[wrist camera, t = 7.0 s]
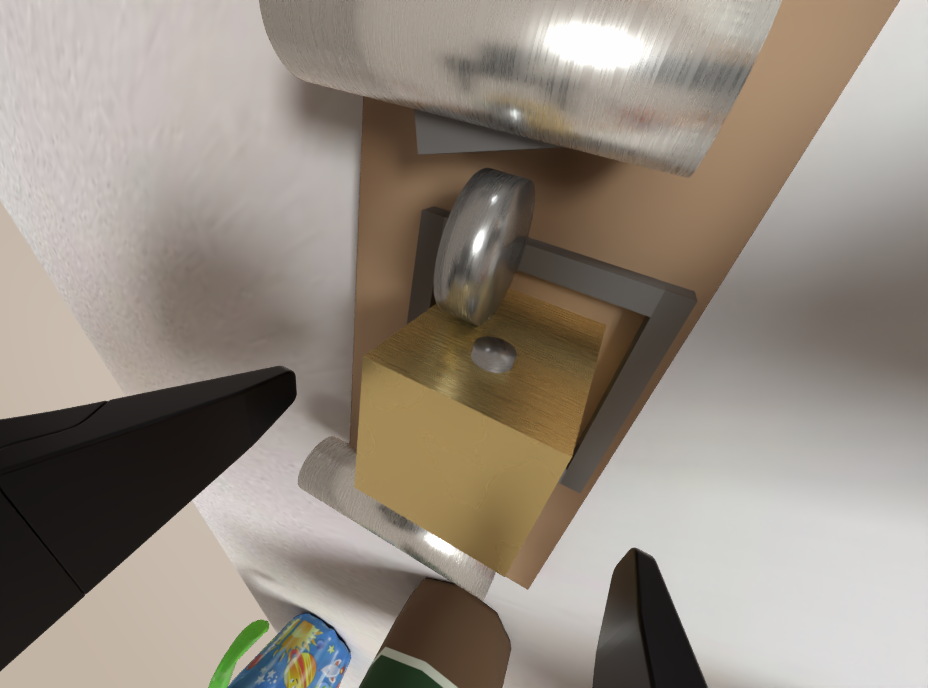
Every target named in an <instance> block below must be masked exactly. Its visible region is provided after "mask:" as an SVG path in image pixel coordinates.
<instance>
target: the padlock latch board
mask: <svg viewBox="0 0 928 688" xmlns="http://www.w3.org/2000/svg"><path fill="white" fill-rule="evenodd" d="M899 1H900V0H782V2H781V5H780V7H779V10H778V12H777V15H776V17H775V20H774V22H773V24H772V27H771V29H770V31H769V33H768V36H767V38H766V40H765V42H764V44H763V46H762V49H761V51H760V53H759V55H758V57H757V59H756V61H755V63H754V65H753V67H752V69H751V71H750V73H749V75H748V77H747V79H746V82H745V84H744V85H743V87H742V89H741V91H740V93H739V95H738V97H737V99H736V101H735V103H734V105H733V107H732V109H731V111H730V112H729V114H728V116H727V118H726V120H725V122H724V124H723V125H722V127H721V129H720V131H719V133H718V134H717V136H716V138H715V140H714V141H713V143H712V145H711V147H710V148H709V150H708V152H707V153H706V155H705V157H704V158H703V160H702V161H701V163H700V164H699V166H698V167H697V169H696V170H695V172H694V173H693V174H692V175H691V177H689V178H685V177H681V176H677V175H673V174H669V173H665V172H662V171H658V170H654V169H650V168H646V167H642V166H638V165H634V164H630V163H626V162H622V161H618V160H614V159H610V158H606V157H602V156H598V155H594V154H590V153H586V152H582V151H578V150H574V149H570V148H567V147H563V146H559V145H555V144H551V143H547V142H543V141H539V140H535V139H531V138H527V137H523V136H519V135H515V134H511V133H507V132H503V131H499V130H495V129H491V128H487V127H483V126H479V125H475V124H472V123H468V122H464V121H460V120H456V119H452V118H448V117H444V116H440V115H436V114H432V113H428V112H424V111H420V110H416V109H412V108H408V107H404V106H400V105H396V104H392V103H388V102H384V101H380V100H376V99H373V98H369V97H365V96H364V98H363V123H362V148H361V173H360V199H359V224H358V249H357V274H356V300H355V325H354V350H353V375H352V401H351V426H350V445H351V446H353V447H355V448H357V440H358V425H359V411H360V396H361V381H362V366H363V356H364V355H366V354H367V353H369V352H370V351H371V350H373V349H374V348H375V347H377V346H378V345H380V344H381V343H382V342H384V341H385V340H387V339H388V338H389V337H391V336H392V335H394V334H395V333H396V332H398V331H399V330H400V329H402V328H403V327H405V326H406V325H407V324H409V323H410V322H412V321H413V320H414V319H416V318H417V317H418V316H420V315H421V314H423V313H424V312H425V311H427V310H428V309H430V308H431V307H432V306H434V305H435V304H436V301H435V297H434V271H435V263H436V258H437V253H438V248H439V244H440V241H441V237H442V234H443V231H444V228H445V225H446V222H447V220H448V217H449V215H450V212H451V210H452V208H453V206H454V204H455V202H456V200H457V198H458V196H459V194H460V192H461V191H462V189H463V188H464V186H465V185H466V183H467V182H468V181H469V179H470V178H471V177H472V176H473V175H474V174H475V173H476V172H477V171H479V170H481V169H483V168H492V169H495V170H499V171H502V172H506V173H509V174H513V175H517V176H520V177H524V178H527V179H530V180H532V181H533V183H534V186H535V205H534V213H533V218H532V223H531V227H530V231H529V235H528V239H527V242H526V245H525V249H524V252H523V255H522V258H521V260H520V263H519V266H518V268H517V271H516V274H515V276H514V278H513V281H512V283H511V285H510V287H509V288H510V289H513V290H515V291H518V292H521V293H523V294H526V295H529V296H531V297H534V298H536V299H539V300H542V301H544V302H547V303H550V304H552V305H555V306H558V307H560V308H563V309H565V310H568V311H571V312H573V313H576V314H579V315H581V316H584V317H586V318H589V319H592V320H594V321H597V322H600V323H602V324H605V325H606V328H605V332H604V336H603V340H602V344H601V347H600V351H599V355H598V359H597V363H596V367H595V370H594V374H593V378H592V382H591V386H590V390H589V393H588V397H587V401H586V405H585V409H584V413H583V416H582V420H581V424H580V428H579V432H578V436H577V439H576V443H575V447H574V451H573V455H572V458H571V460H570V461H569V463H568V465H567V467H566V468H565V470H564V472H563V474H562V476H561V477H560V479H559V481H558V483H557V485H556V486H555V488H554V490H553V492H552V494H551V495H550V497H549V499H548V501H547V502H546V504H545V506H544V508H543V510H542V511H541V513H540V515H539V517H538V519H537V520H536V522H535V524H534V526H533V527H532V529H531V531H530V533H529V535H528V536H527V538H526V540H525V542H524V544H523V545H522V547H521V549H520V551H519V553H518V554H517V556H516V558H515V560H514V561H513V563H512V565H511V567H510V569H509V570H508V572H507V574H506V577H507V578H509V579H511V580H512V581H514V582H516V583H517V584H519V585H521V586H523V587H524V588H526V589H529V587H530V586H531V584H532V582H533V581H534V579H535V578H536V576H537V574H538V573H539V571H540V570H541V568H542V567H543V565H544V563H545V562H546V560H547V559H548V557H549V555H550V554H551V552H552V551H553V549H554V548H555V546H556V544H557V543H558V541H559V540H560V538H561V536H562V535H563V533H564V532H565V530H566V529H567V527H568V525H569V524H570V522H571V521H572V519H573V517H574V516H575V514H576V513H577V511H578V510H579V508H580V506H581V505H582V503H583V502H584V500H585V498H586V497H587V495H588V494H589V492H590V491H591V489H592V487H593V486H594V484H595V483H596V481H597V479H598V478H599V476H600V475H601V473H602V471H603V470H604V468H605V467H606V465H607V464H608V462H609V460H610V459H611V457H612V456H613V454H614V452H615V451H616V449H617V448H618V446H619V445H620V443H621V441H622V440H623V438H624V437H625V435H626V433H627V432H628V430H629V429H630V427H631V426H632V424H633V422H634V421H635V419H636V418H637V416H638V414H639V413H640V411H641V410H642V408H643V407H644V405H645V403H646V402H647V400H648V399H649V397H650V395H651V394H652V392H653V391H654V389H655V388H656V386H657V384H658V383H659V381H660V380H661V378H662V376H663V375H664V373H665V372H666V370H667V369H668V367H669V365H670V364H671V362H672V361H673V359H674V357H675V356H676V354H677V353H678V351H679V350H680V348H681V346H682V345H683V343H684V342H685V340H686V338H687V337H688V335H689V334H690V332H691V331H692V329H693V327H694V326H695V324H696V323H697V321H698V319H699V318H700V316H701V315H702V313H703V312H704V310H705V308H706V307H707V305H708V304H709V302H710V300H711V299H712V297H713V296H714V294H715V293H716V291H717V289H718V288H719V286H720V285H721V283H722V281H723V280H724V278H725V277H726V275H727V274H728V272H729V270H730V269H731V267H732V266H733V264H734V262H735V261H736V259H737V258H738V256H739V255H740V253H741V251H742V250H743V248H744V247H745V245H746V243H747V242H748V240H749V239H750V237H751V236H752V234H753V232H754V231H755V229H756V228H757V226H758V224H759V223H760V221H761V220H762V218H763V216H764V215H765V213H766V212H767V210H768V209H769V207H770V205H771V204H772V202H773V201H774V199H775V197H776V196H777V194H778V193H779V191H780V190H781V188H782V186H783V185H784V183H785V182H786V180H787V178H788V177H789V175H790V174H791V172H792V171H793V169H794V167H795V166H796V164H797V163H798V161H799V159H800V158H801V156H802V155H803V153H804V152H805V150H806V148H807V147H808V145H809V144H810V142H811V140H812V139H813V137H814V136H815V134H816V133H817V131H818V129H819V128H820V126H821V125H822V123H823V121H824V120H825V118H826V117H827V115H828V114H829V112H830V110H831V109H832V107H833V106H834V104H835V102H836V101H837V99H838V98H839V96H840V95H841V93H842V91H843V90H844V88H845V87H846V85H847V83H848V82H849V80H850V79H851V77H852V76H853V74H854V72H855V71H856V69H857V68H858V66H859V64H860V63H861V61H862V60H863V58H864V57H865V55H866V53H867V52H868V50H869V49H870V47H871V45H872V44H873V42H874V41H875V39H876V38H877V36H878V34H879V33H880V31H881V30H882V28H883V26H884V25H885V23H886V22H887V20H888V19H889V17H890V15H891V14H892V12H893V11H894V9H895V7H896V6H897V4H898V3H899Z"/></svg>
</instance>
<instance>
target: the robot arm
mask: <svg viewBox="0 0 928 688" xmlns="http://www.w3.org/2000/svg"><path fill="white" fill-rule="evenodd" d="M296 395H297V390H296V376H295V373H294V372H293V371H292V370H290V369H288V368H286V367H284V366H275V367H270V368H265V369H260V370H255V371H250V372H246V373H241V374H236V375H231V376H226V377H221V378H216V379H211V380H206V381H201V382H196V383H191V384H186V385H181V386H176V387H171V388H167V389H162V390H157V391H152V392H147V393H142V394H137V395H132V396H127V397H122V398H117V399H112V400H110V401H102V402H98V403H92V404H88V405H82V406H77V407H72V408H66V409H61V410H56V411H51V412H45V413H38V414H32V415H26V416H20V417H13V418H7V419H0V671H1V670H2V669H3V668H5V667H6V666H7V665H8V664H9V663H10V662H11V661H12V660H14V659H15V658H16V657H17V656H18V655H19V654H20V653H21V652H22V651H24V650H25V649H26V648H27V647H28V646H29V645H30V644H31V643H33V642H34V641H35V640H36V639H37V638H38V637H39V636H40V635H42V634H43V633H44V632H45V631H46V630H47V629H48V628H49V627H51V626H52V625H53V624H54V623H55V622H56V621H57V620H58V619H59V618H61V617H62V616H63V615H64V614H65V613H66V612H67V611H68V610H70V609H71V608H72V607H73V606H74V605H75V604H76V603H77V602H79V601H80V600H81V599H82V598H83V597H84V596H85V594H87V593H88V592H89V591H91V590H92V589H93V588H94V587H95V586H96V585H97V584H98V583H100V582H101V581H102V580H103V579H104V578H105V577H106V576H107V575H108V574H110V573H111V572H112V571H113V570H114V569H115V568H116V567H117V566H119V565H120V564H121V563H122V562H123V561H124V560H125V559H126V558H128V557H129V556H130V555H131V554H132V553H133V552H134V551H135V550H136V549H138V548H139V547H140V546H141V545H142V544H143V543H144V542H145V541H147V540H148V539H149V538H150V537H151V536H152V535H153V534H154V533H156V532H157V531H158V530H159V529H160V528H161V527H162V526H163V525H165V524H166V523H167V522H168V521H169V520H170V519H171V518H172V517H173V516H175V515H176V514H177V513H178V512H179V511H180V510H181V509H182V508H184V507H185V506H186V505H187V504H188V503H189V502H190V501H191V500H193V499H194V498H195V497H196V496H197V495H198V494H199V493H200V492H201V491H203V490H204V489H205V488H206V487H207V486H208V485H209V484H210V483H212V482H213V481H214V480H215V479H216V478H217V477H218V476H219V475H221V474H222V473H223V472H224V471H225V470H226V469H227V468H228V467H229V466H231V465H232V464H233V463H234V462H235V461H236V460H237V459H238V458H240V457H241V456H242V455H243V454H244V453H245V452H246V451H247V450H248V449H249V448H251V447H252V446H253V445H254V444H255V443H256V442H257V441H258V440H259V439H260V438H261V436H262V435H263V434H264V433H265V432H266V431H267V430H268V429H269V428H270V427H271V426H272V425H273V424H274V423H275V421H276V420H277V419H278V418H279V417H280V416H281V415H282V414H283V413H284V412H285V411H286V410H287V409H288V407H289V406H290V405H291V404H292V403H293V402H294V400H295V398H296ZM592 688H708V686H707V684H706V681H705V679H704V676H703V674H702V672H701V669H700V667H699V664H698V662H697V659H696V657H695V655H694V652H693V650H692V647H691V645H690V643H689V640H688V638H687V635H686V633H685V630H684V628H683V626H682V623H681V621H680V618H679V616H678V613H677V611H676V609H675V606H674V604H673V601H672V599H671V596H670V594H669V592H668V589H667V587H666V584H665V582H664V579H663V577H662V575H661V572H660V570H659V567H658V565H657V563H656V561H655V559H654V558H653V557H652V556H651V555H649V554H647V553H645V552H643V551H641V550H639V549H638V548H631V549H630V550H629V551H628V552H627V554H626V555H625V556H624V557H623V558H622V559H621V561H620V562H619V563H618V564H617V566H616V567H615V569H614V572H613V575H612V579H611V584H610V588H609V593H608V598H607V603H606V607H605V612H604V617H603V621H602V626H601V631H600V636H599V641H598V646H597V651H596V659H595V667H594V677H593V687H592Z"/></svg>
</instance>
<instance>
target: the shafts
mask: <svg viewBox="0 0 928 688" xmlns="http://www.w3.org/2000/svg"><path fill="white" fill-rule="evenodd" d="M259 2H260V9H261V14H262V19H263V22H264V26H265V29H266V32H267V35H268V37H269V40H270V42H271V44H272V46H273V48H274V50H275V52H276V54H277V56H278V57H279V59H280V60H281V61H282V63H283V64H284V65H285V66H286V68H287V69H288V70H289V71H290V72H291V73H292V74H293V75H295V76H296V77H298V78H299V79H301V80H303V81H306V82H309V83H313V84H317V85H321V86H325V87H329V88H333V89H337V90H341V91H345V92H349V93H353V94H357V95H361V96H365V97H369V98H373V99H376V100H380V101H384V102H388V103H392V104H396V105H400V106H404V107H408V108H412V109H416V110H420V111H424V112H428V113H432V114H436V115H440V116H444V117H448V118H452V119H456V120H460V121H464V122H468V123H472V124H475V125H479V126H483V127H487V128H491V129H495V130H499V131H503V132H507V133H511V134H515V135H519V136H523V137H527V138H531V139H535V140H539V141H543V142H547V143H551V144H555V145H559V146H563V147H567V148H570V149H574V150H578V151H582V152H586V153H590V154H594V155H598V156H602V157H606V158H610V159H614V160H618V161H622V162H626V163H630V164H634V165H638V166H642V167H646V168H650V169H654V170H658V171H662V172H665V173H669V174H673V175H677V176H681V177H685V178H689V177H691V175H692V174H693V173H694V172H695V170H696V169H697V167H698V166H699V164H700V163H701V161H702V160H703V158H704V157H705V155H706V153H707V152H708V150H709V148H710V147H711V145H712V143H713V141H714V140H715V138H716V136H717V134H718V133H719V131H720V129H721V127H722V125H723V124H724V122H725V120H726V118H727V116H728V114H729V112H730V111H731V109H732V107H733V105H734V103H735V101H736V99H737V97H738V95H739V93H740V91H741V89H742V87H743V85H744V84H745V82H746V79H747V77H748V75H749V73H750V71H751V69H752V67H753V65H754V63H755V61H756V59H757V57H758V55H759V53H760V51H761V49H762V46H763V44H764V42H765V40H766V38H767V36H768V33H769V31H770V29H771V27H772V24H773V22H774V20H775V17H776V15H777V12H778V10H779V7H780V5H781V2H782V0H259ZM534 205H535V186H534V183H533V181H532V180H530V179H527V178H524V177H520V176H517V175H513V174H509V173H506V172H502V171H499V170H495V169H492V168H483V169H481V170H479V171H477V172H476V173H475V174H474V175H473V176H472V177H471V178H470V179H469V181H468V182H467V183H466V185H465V186H464V188H463V189H462V191H461V192H460V194H459V196H458V198H457V200H456V202H455V204H454V206H453V208H452V210H451V212H450V215H449V217H448V220H447V222H446V225H445V228H444V231H443V234H442V237H441V241H440V244H439V248H438V253H437V258H436V263H435V271H434V297H435V301H436V304H437V306H438V308H439V309H440V310H441V311H443V312H446V313H448V314H450V315H453V316H455V317H458V318H460V319H463V320H465V321H468V322H470V323H472V324H475V325H477V326H482V325H484V324H486V323H487V322H488V321H489V320H490V319H491V318H492V316H493V315H494V314H495V312H496V311H497V309H498V308H499V306H500V304H501V303H502V301H503V299H504V297H505V295H506V293H507V291H508V289H509V287H510V285H511V283H512V281H513V278H514V276H515V274H516V271H517V268H518V266H519V263H520V260H521V258H522V255H523V252H524V249H525V245H526V242H527V239H528V235H529V231H530V227H531V223H532V218H533V213H534ZM356 455H357V448H355V447H353V446H351V445H350V444H348V443H346V442H344V441H342V440H341V439H339V438H337V437H335V436H331V437H328V438H326V439H324V440H323V441H322V442H320V443H319V444H318V445H317V446H316V447H315V448H314V449H313V451H312V452H311V453H310V454H309V456H308V457H307V459H306V460H305V462H304V464H303V466H302V468H301V470H300V473H299V477H298V485H299V487H300V488H301V489H303V490H304V491H306V492H307V493H309V494H311V495H312V496H314V497H315V498H317V499H319V500H320V501H322V502H324V503H325V504H327V505H328V506H330V507H332V508H333V509H335V510H337V511H338V512H340V513H341V514H343V515H345V516H346V517H348V518H349V519H351V520H353V521H354V522H356V523H358V524H359V525H361V526H362V527H364V528H366V529H367V530H369V531H370V532H372V533H374V534H375V535H377V536H379V537H380V538H382V539H383V540H385V541H387V542H388V543H390V544H392V545H393V546H395V547H396V548H398V549H400V550H401V551H403V552H404V553H406V554H408V555H409V556H411V557H413V558H414V559H416V560H417V561H419V562H421V563H422V564H424V565H426V566H427V567H429V568H430V569H432V570H434V571H435V572H437V573H438V574H440V575H442V576H443V577H445V578H447V579H448V580H450V581H451V582H453V583H455V584H456V585H458V586H459V587H461V588H463V589H464V590H466V591H468V592H469V593H471V594H472V595H474V596H476V597H477V598H479V599H481V600H482V601H483V600H484V598H485V596H486V594H487V592H488V589H489V587H490V585H491V583H492V580H493V578H494V575H495V573H496V572H495V571H494V570H492V569H490V568H489V567H487V566H485V565H484V564H482V563H480V562H479V561H477V560H475V559H474V558H472V557H470V556H469V555H467V554H465V553H463V552H462V551H460V550H458V549H457V548H455V547H453V546H452V545H450V544H448V543H447V542H445V541H443V540H442V539H440V538H438V537H437V536H435V535H433V534H432V533H430V532H428V531H427V530H425V529H423V528H422V527H420V526H418V525H417V524H415V523H413V522H411V521H410V520H408V519H406V518H405V517H403V516H401V515H400V514H398V513H396V512H395V511H393V510H391V509H390V508H388V507H386V506H385V505H383V504H381V503H380V502H378V501H376V500H375V499H373V498H371V497H370V496H368V495H366V494H365V493H363V492H361V491H359V490H358V489H356V488H354V484H355V470H356Z"/></svg>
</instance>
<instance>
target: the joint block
mask: <svg viewBox="0 0 928 688" xmlns="http://www.w3.org/2000/svg"><path fill="white" fill-rule="evenodd" d="M605 328H606V325H605V324H602V323H600V322H597V321H594V320H592V319H589V318H586V317H584V316H581V315H579V314H576V313H573V312H571V311H568V310H565V309H563V308H560V307H558V306H555V305H552V304H550V303H547V302H544V301H542V300H539V299H536V298H534V297H531V296H529V295H526V294H523V293H521V292H518V291H515V290H513V289H510V288H509V289H508V291H507V293H506V295H505V297H504V299H503V301H502V303H501V304H500V306H499V308H498V309H497V311H496V312H495V314H494V315H493V316H492V318H491V319H490V320H489V321H488V322H487V323H486V324H484V325H482V326H477V325H475V324H472V323H470V322H468V321H465V320H463V319H460V318H458V317H455V316H453V315H450V314H448V313H446V312H443V311H441V310H440V309H439V308H438V306H437V304H435V305H434V306H432V307H431V308H430V309H428V310H427V311H425V312H424V313H423V314H421V315H420V316H418V317H417V318H416V319H414V320H413V321H412V322H410V323H409V324H407V325H406V326H405V327H403V328H402V329H400V330H399V331H398V332H396V333H395V334H394V335H392V336H391V337H389V338H388V339H387V340H385V341H384V342H382V343H381V344H380V345H378V346H377V347H375V348H374V349H373V350H371V351H370V352H369V353H367V354H366V355H364V356H363V366H362V381H361V396H360V411H359V425H358V440H357V455H356V470H355V484H354V488H356V489H358V490H359V491H361V492H363V493H365V494H366V495H368V496H370V497H371V498H373V499H375V500H376V501H378V502H380V503H381V504H383V505H385V506H386V507H388V508H390V509H391V510H393V511H395V512H396V513H398V514H400V515H401V516H403V517H405V518H406V519H408V520H410V521H411V522H413V523H415V524H417V525H418V526H420V527H422V528H423V529H425V530H427V531H428V532H430V533H432V534H433V535H435V536H437V537H438V538H440V539H442V540H443V541H445V542H447V543H448V544H450V545H452V546H453V547H455V548H457V549H458V550H460V551H462V552H463V553H465V554H467V555H469V556H470V557H472V558H474V559H475V560H477V561H479V562H480V563H482V564H484V565H485V566H487V567H489V568H490V569H492V570H494V571H495V572H497V573H499V574H500V575H502V576H504V577H505V576H506V574H507V572H508V570H509V569H510V567H511V565H512V563H513V561H514V560H515V558H516V556H517V554H518V553H519V551H520V549H521V547H522V545H523V544H524V542H525V540H526V538H527V536H528V535H529V533H530V531H531V529H532V527H533V526H534V524H535V522H536V520H537V519H538V517H539V515H540V513H541V511H542V510H543V508H544V506H545V504H546V502H547V501H548V499H549V497H550V495H551V494H552V492H553V490H554V488H555V486H556V485H557V483H558V481H559V479H560V477H561V476H562V474H563V472H564V470H565V468H566V467H567V465H568V463H569V461H570V460H571V458H572V455H573V451H574V447H575V443H576V439H577V436H578V432H579V428H580V424H581V420H582V416H583V413H584V409H585V405H586V401H587V397H588V393H589V390H590V386H591V382H592V378H593V374H594V370H595V367H596V363H597V359H598V355H599V351H600V347H601V344H602V340H603V336H604V332H605Z"/></svg>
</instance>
